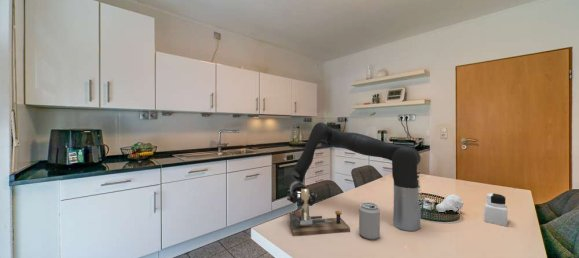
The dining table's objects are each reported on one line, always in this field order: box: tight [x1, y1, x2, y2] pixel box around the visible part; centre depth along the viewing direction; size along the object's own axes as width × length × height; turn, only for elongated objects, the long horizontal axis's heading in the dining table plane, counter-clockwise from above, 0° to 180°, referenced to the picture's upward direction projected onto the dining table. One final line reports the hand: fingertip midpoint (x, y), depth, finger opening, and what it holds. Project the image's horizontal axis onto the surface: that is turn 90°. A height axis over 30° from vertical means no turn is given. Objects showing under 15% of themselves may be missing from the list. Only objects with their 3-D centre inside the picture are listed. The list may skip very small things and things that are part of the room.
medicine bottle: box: [483, 192, 508, 227], centre depth 97 cm, size 7×7×12 cm
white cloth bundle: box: [435, 193, 464, 214], centre depth 107 cm, size 6×8×12 cm
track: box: [289, 210, 351, 237], centre depth 91 cm, size 23×10×6 cm, turn 99°
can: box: [358, 201, 381, 241], centre depth 85 cm, size 8×8×12 cm
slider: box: [297, 187, 325, 225], centre depth 91 cm, size 10×4×14 cm, turn 99°
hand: (306, 203), depth 87 cm, fingers closed on slider, 3 cm apart
